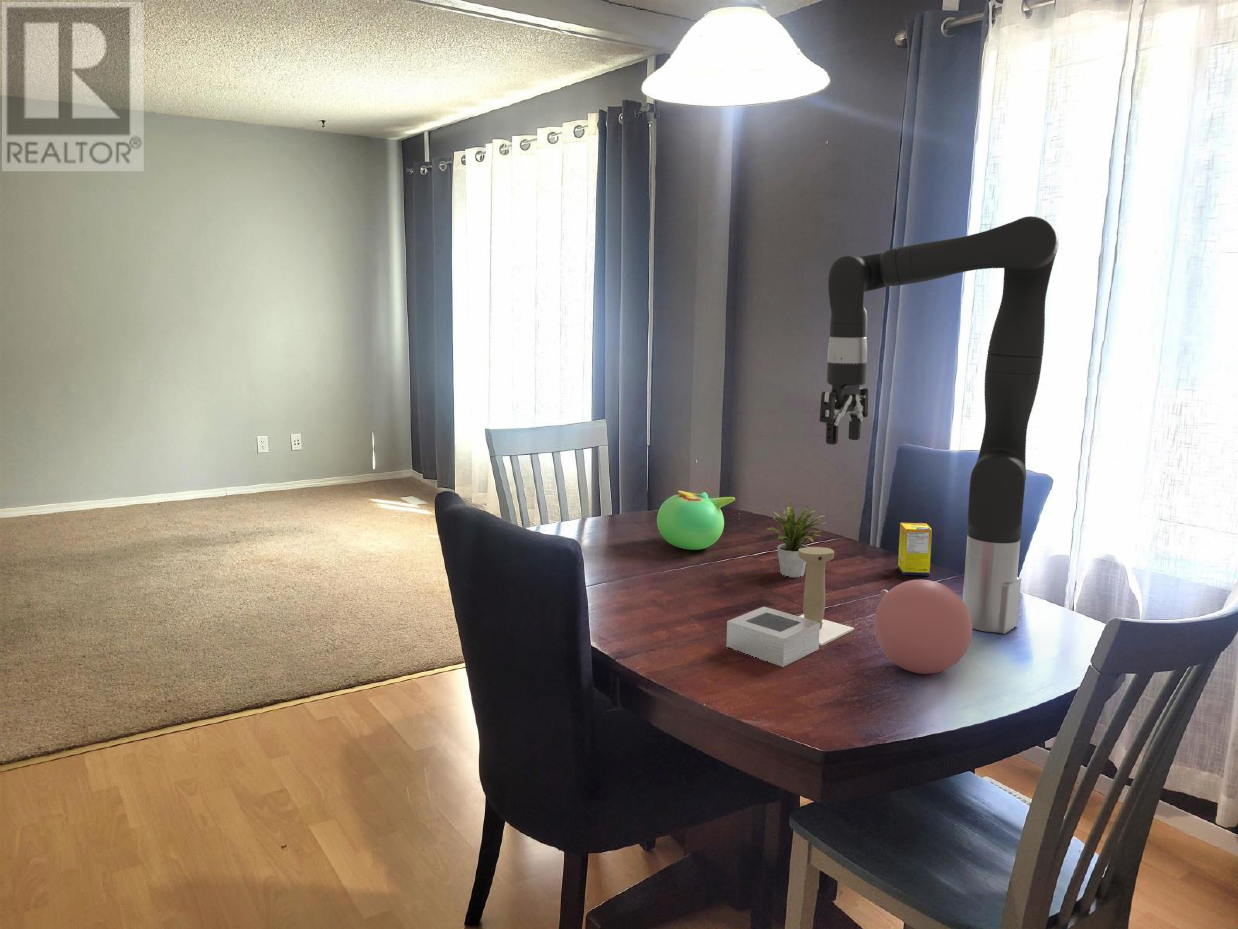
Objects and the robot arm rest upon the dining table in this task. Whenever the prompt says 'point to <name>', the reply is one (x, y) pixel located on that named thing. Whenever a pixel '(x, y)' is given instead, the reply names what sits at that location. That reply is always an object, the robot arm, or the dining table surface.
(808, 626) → the collar
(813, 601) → the handle
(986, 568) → the robot arm
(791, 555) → the house plant
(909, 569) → the supplement box
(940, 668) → the balloon
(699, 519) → the toy bird
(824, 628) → the mat
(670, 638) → the dining table surface
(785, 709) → the dining table surface
